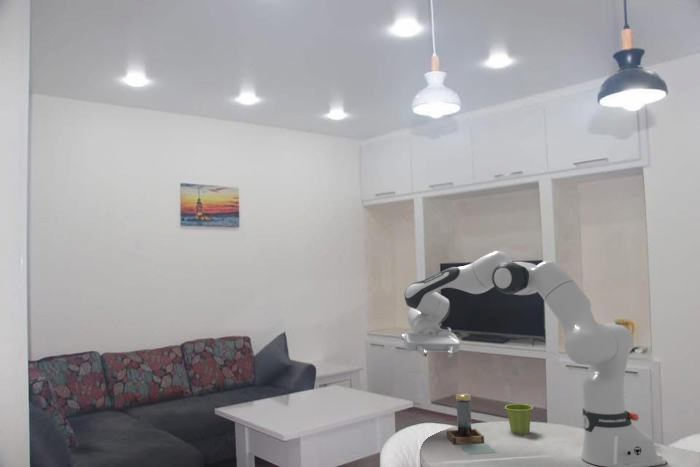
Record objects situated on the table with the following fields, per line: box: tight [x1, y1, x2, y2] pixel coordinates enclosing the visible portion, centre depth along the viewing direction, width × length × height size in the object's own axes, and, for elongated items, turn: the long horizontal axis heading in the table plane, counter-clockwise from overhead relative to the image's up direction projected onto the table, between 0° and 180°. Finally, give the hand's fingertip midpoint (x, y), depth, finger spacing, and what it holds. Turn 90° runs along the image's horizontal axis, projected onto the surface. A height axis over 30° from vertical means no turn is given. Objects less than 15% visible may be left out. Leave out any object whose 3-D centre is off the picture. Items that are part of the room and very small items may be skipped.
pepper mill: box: [455, 392, 473, 437], centre depth 192 cm, size 5×5×14 cm
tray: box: [446, 428, 485, 445], centre depth 191 cm, size 10×9×2 cm
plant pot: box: [504, 403, 534, 435], centre depth 199 cm, size 9×9×9 cm
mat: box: [460, 443, 497, 456], centre depth 180 cm, size 9×9×1 cm
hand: (438, 355), depth 202 cm, fingers open, 8 cm apart
